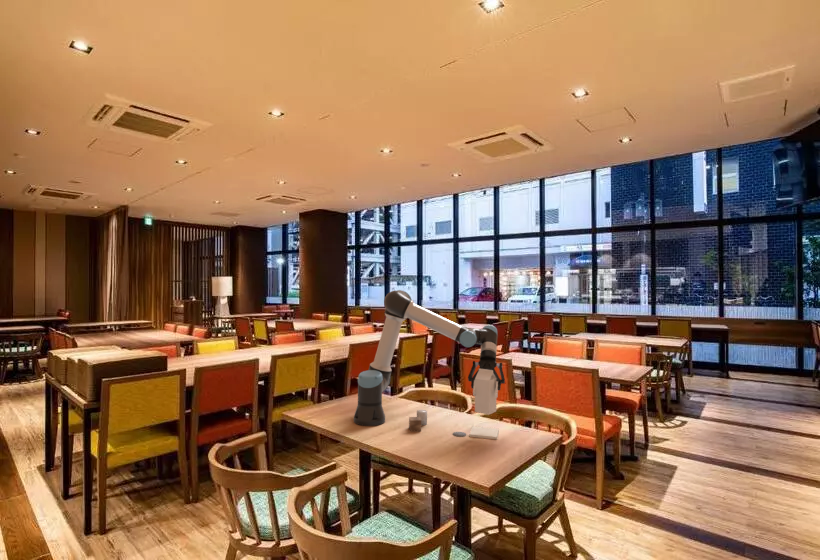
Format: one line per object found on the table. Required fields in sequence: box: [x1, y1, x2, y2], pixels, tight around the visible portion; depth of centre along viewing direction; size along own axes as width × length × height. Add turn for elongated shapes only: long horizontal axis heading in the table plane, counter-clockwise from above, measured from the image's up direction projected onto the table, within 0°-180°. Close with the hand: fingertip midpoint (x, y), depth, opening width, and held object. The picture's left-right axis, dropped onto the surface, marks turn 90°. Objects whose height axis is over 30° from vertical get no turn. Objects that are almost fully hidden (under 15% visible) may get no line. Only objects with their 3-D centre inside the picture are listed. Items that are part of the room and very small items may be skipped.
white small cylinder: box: [416, 409, 428, 427], centre depth 205 cm, size 5×5×6 cm
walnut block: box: [408, 416, 422, 432], centre depth 197 cm, size 5×5×5 cm
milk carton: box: [474, 368, 497, 416], centre depth 193 cm, size 7×7×19 cm
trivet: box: [469, 425, 500, 440], centre depth 193 cm, size 12×12×1 cm
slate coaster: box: [452, 431, 467, 438], centre depth 191 cm, size 6×6×1 cm
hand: (485, 395), depth 190 cm, fingers closed on milk carton, 9 cm apart
